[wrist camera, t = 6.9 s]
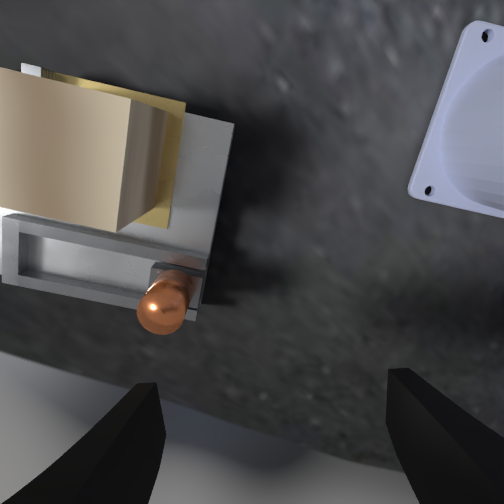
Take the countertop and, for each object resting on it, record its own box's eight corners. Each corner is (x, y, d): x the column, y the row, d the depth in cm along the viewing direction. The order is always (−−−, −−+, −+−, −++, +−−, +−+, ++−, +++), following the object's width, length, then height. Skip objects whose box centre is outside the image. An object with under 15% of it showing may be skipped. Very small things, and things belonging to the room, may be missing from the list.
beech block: (168, 111, 16) (130, 98, 11) (154, 207, 17) (115, 232, 12) (69, 88, 16) (-13, 64, 11) (63, 186, 17) (-13, 204, 12)
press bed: (237, 116, 17) (234, 112, 15) (201, 304, 20) (194, 325, 18) (-3, 60, 16) (-45, 47, 14) (-3, 263, 20) (-37, 279, 17)
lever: (206, 269, 18) (194, 298, 15) (199, 303, 19) (186, 339, 15) (156, 258, 18) (132, 286, 14) (151, 293, 18) (127, 328, 15)
